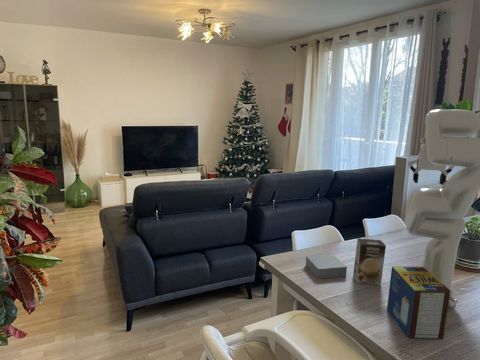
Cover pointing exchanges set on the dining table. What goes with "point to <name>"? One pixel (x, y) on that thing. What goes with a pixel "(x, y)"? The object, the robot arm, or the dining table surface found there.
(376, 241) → the coffee box
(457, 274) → the dining table surface
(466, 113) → the robot arm
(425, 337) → the protein box
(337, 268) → the pedestal
